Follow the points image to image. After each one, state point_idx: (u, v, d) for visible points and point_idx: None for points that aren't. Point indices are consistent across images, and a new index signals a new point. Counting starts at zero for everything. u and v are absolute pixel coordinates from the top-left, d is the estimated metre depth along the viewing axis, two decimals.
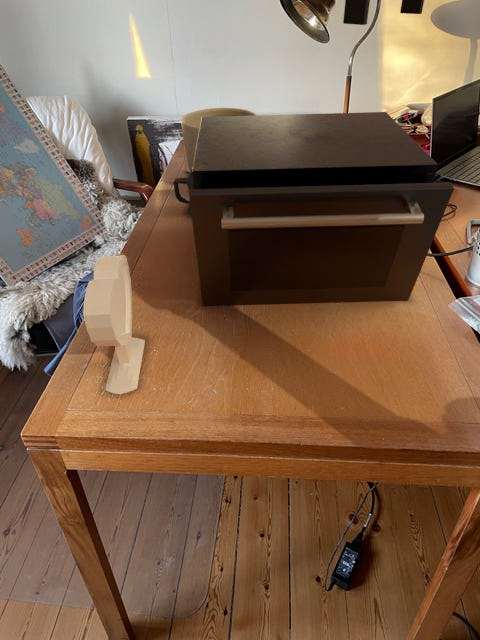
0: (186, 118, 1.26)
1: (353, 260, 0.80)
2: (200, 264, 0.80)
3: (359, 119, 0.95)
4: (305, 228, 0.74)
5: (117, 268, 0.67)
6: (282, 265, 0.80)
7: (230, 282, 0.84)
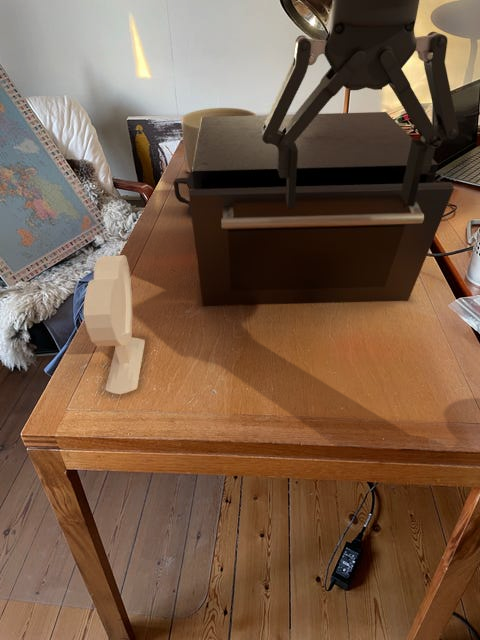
0: (186, 118, 1.26)
1: (353, 260, 0.80)
2: (200, 264, 0.80)
3: (359, 119, 0.95)
4: (305, 228, 0.74)
5: (117, 268, 0.67)
6: (282, 265, 0.80)
7: (230, 282, 0.84)
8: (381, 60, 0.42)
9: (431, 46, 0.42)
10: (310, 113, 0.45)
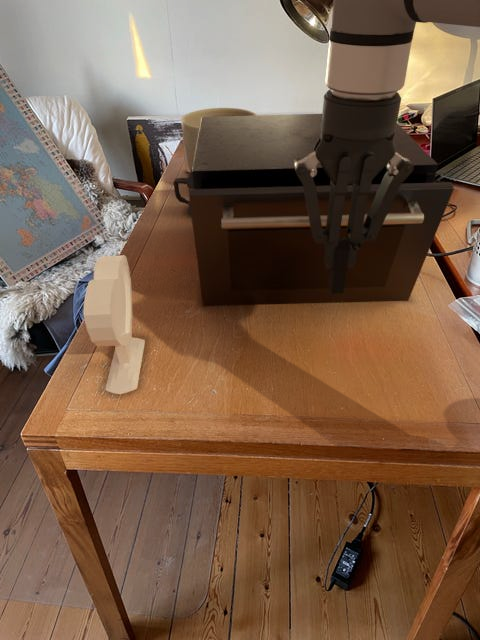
0: (186, 118, 1.26)
1: None
2: (200, 264, 0.80)
3: None
4: (305, 228, 0.74)
5: (117, 268, 0.67)
6: (282, 265, 0.80)
7: (230, 282, 0.84)
8: (365, 164, 0.48)
9: (400, 166, 0.49)
10: (337, 214, 0.52)
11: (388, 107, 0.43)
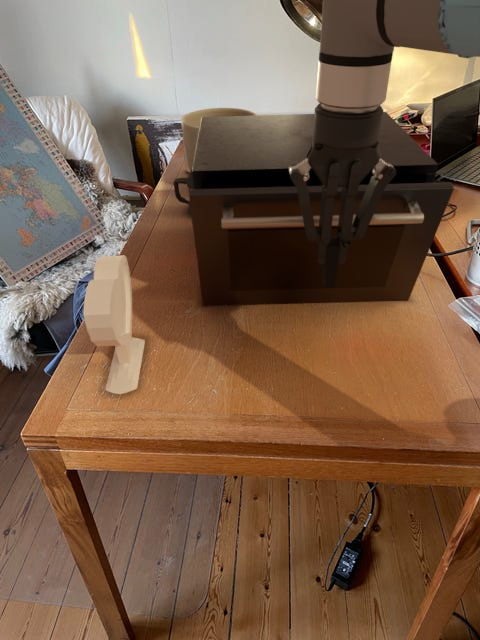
0: (186, 118, 1.26)
1: (353, 260, 0.80)
2: (200, 264, 0.80)
3: None
4: None
5: (117, 268, 0.67)
6: (282, 265, 0.80)
7: (230, 282, 0.84)
8: (352, 169, 0.53)
9: (384, 171, 0.55)
10: (328, 215, 0.57)
11: (371, 119, 0.48)
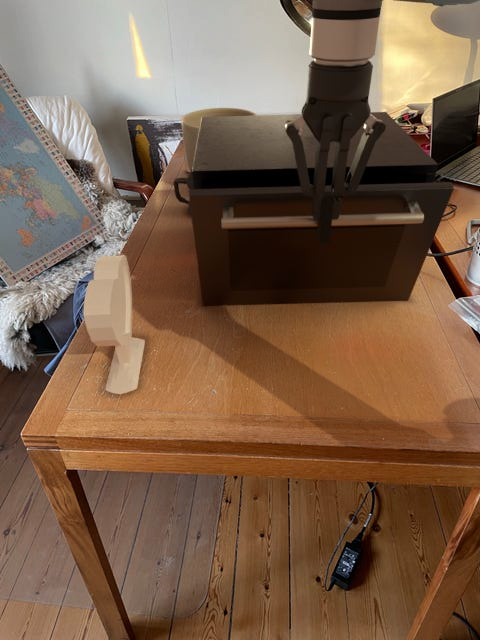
0: (186, 118, 1.26)
1: (353, 260, 0.80)
2: (200, 264, 0.80)
3: None
4: (305, 228, 0.74)
5: (117, 268, 0.67)
6: (282, 265, 0.80)
7: (230, 282, 0.84)
8: (344, 123, 0.56)
9: (374, 126, 0.58)
10: (322, 169, 0.61)
11: (361, 72, 0.52)
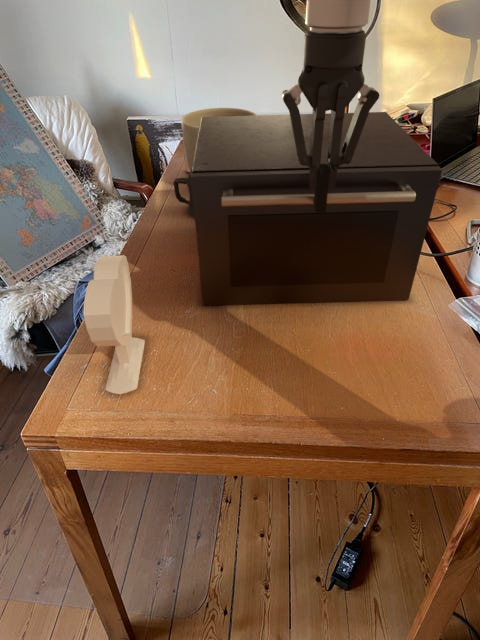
0: (186, 118, 1.26)
1: (350, 250, 0.81)
2: (201, 255, 0.82)
3: None
4: (302, 213, 0.77)
5: (117, 268, 0.67)
6: (281, 256, 0.82)
7: (230, 276, 0.84)
8: (339, 91, 0.59)
9: (368, 95, 0.60)
10: (318, 138, 0.63)
11: (355, 39, 0.54)
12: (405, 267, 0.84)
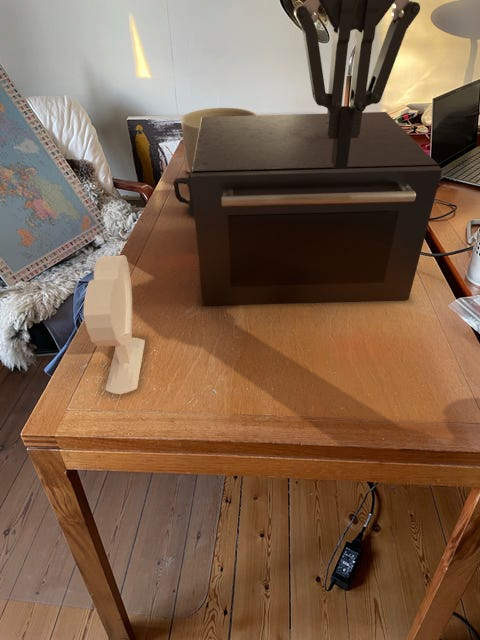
0: (186, 118, 1.26)
1: (350, 250, 0.81)
2: (201, 255, 0.82)
3: None
4: (302, 213, 0.77)
5: (117, 268, 0.67)
6: (281, 256, 0.82)
7: (230, 276, 0.84)
8: (369, 0, 0.45)
9: (406, 8, 0.47)
10: (339, 68, 0.50)
11: None
12: (405, 267, 0.84)
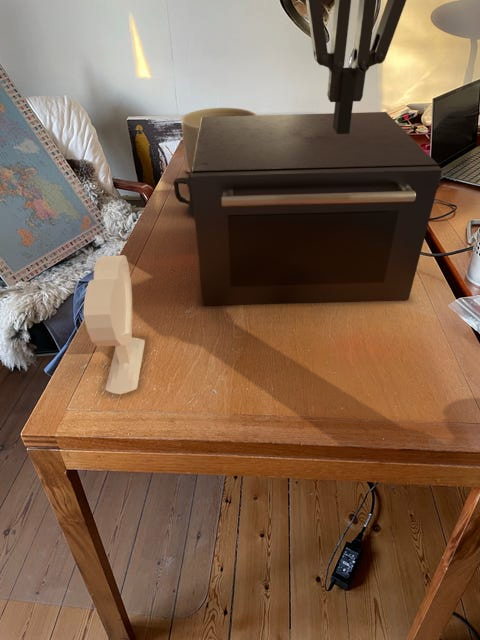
0: (186, 118, 1.26)
1: (350, 250, 0.81)
2: (201, 255, 0.82)
3: (359, 119, 0.95)
4: (302, 213, 0.77)
5: (117, 268, 0.67)
6: (281, 256, 0.82)
7: (230, 276, 0.84)
8: None
9: None
10: (342, 24, 0.47)
11: None
12: (405, 267, 0.84)
